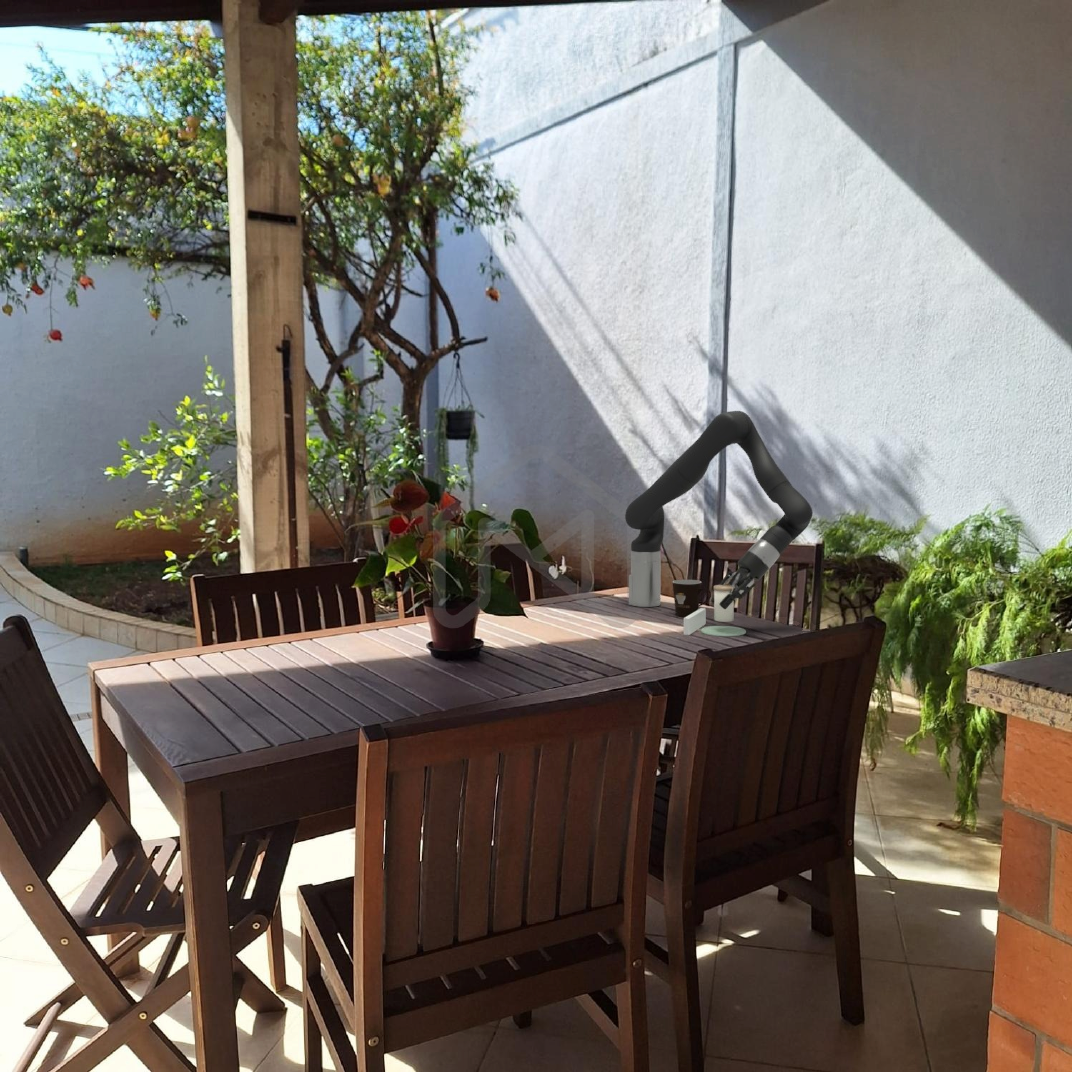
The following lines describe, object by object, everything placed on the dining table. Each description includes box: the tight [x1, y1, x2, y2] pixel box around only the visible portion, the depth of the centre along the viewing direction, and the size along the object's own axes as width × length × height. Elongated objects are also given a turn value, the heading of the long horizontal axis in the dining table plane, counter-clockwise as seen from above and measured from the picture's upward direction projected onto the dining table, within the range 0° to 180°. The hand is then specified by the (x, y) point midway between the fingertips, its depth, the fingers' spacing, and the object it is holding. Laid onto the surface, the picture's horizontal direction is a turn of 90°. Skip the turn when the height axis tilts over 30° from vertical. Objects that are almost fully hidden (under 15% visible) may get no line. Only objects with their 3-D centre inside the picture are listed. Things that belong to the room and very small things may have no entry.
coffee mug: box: [671, 579, 712, 618], centre depth 285 cm, size 12×9×10 cm
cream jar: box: [713, 584, 735, 623], centre depth 262 cm, size 6×6×9 cm
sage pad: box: [700, 625, 747, 637], centre depth 263 cm, size 12×12×1 cm
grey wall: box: [683, 607, 707, 636], centre depth 266 cm, size 2×16×4 cm, turn 154°
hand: (717, 604), depth 262 cm, fingers closed on cream jar, 5 cm apart
